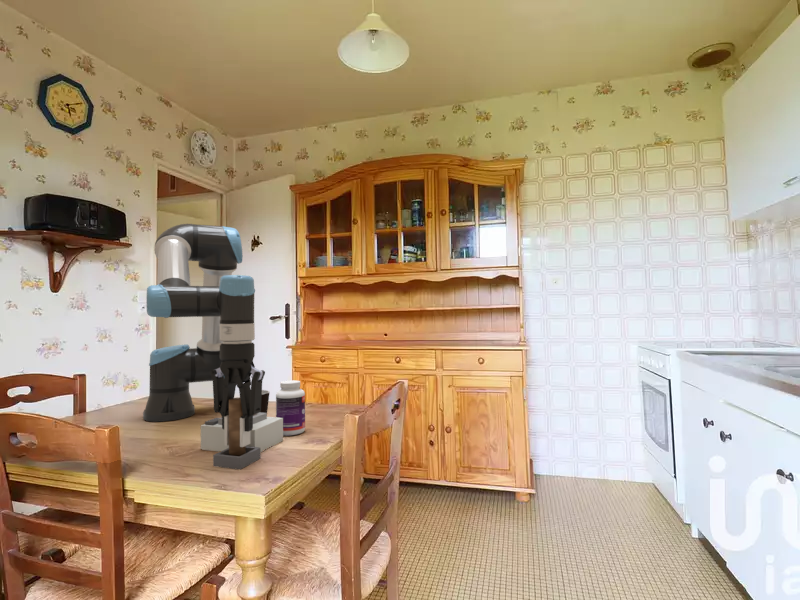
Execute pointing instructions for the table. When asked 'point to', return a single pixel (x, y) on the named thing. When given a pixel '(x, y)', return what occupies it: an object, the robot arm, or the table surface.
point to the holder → (236, 458)
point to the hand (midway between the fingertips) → (237, 444)
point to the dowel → (235, 427)
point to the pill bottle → (291, 407)
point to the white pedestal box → (261, 435)
